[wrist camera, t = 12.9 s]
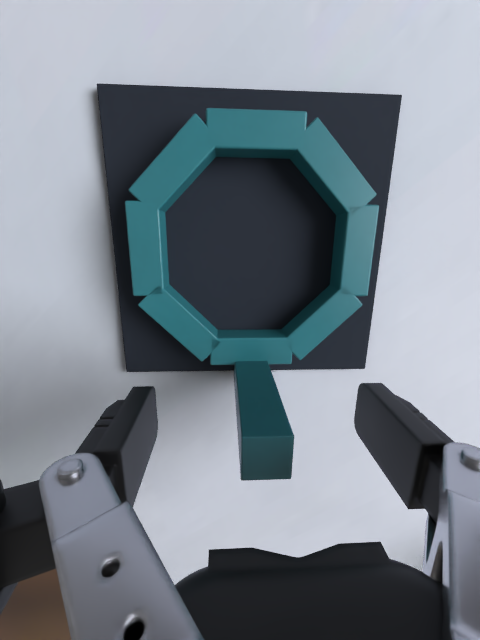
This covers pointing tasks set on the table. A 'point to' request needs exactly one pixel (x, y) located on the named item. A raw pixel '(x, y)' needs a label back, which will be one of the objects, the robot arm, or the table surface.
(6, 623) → the peg rack
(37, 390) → the table surface
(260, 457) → the ring
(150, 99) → the mat
